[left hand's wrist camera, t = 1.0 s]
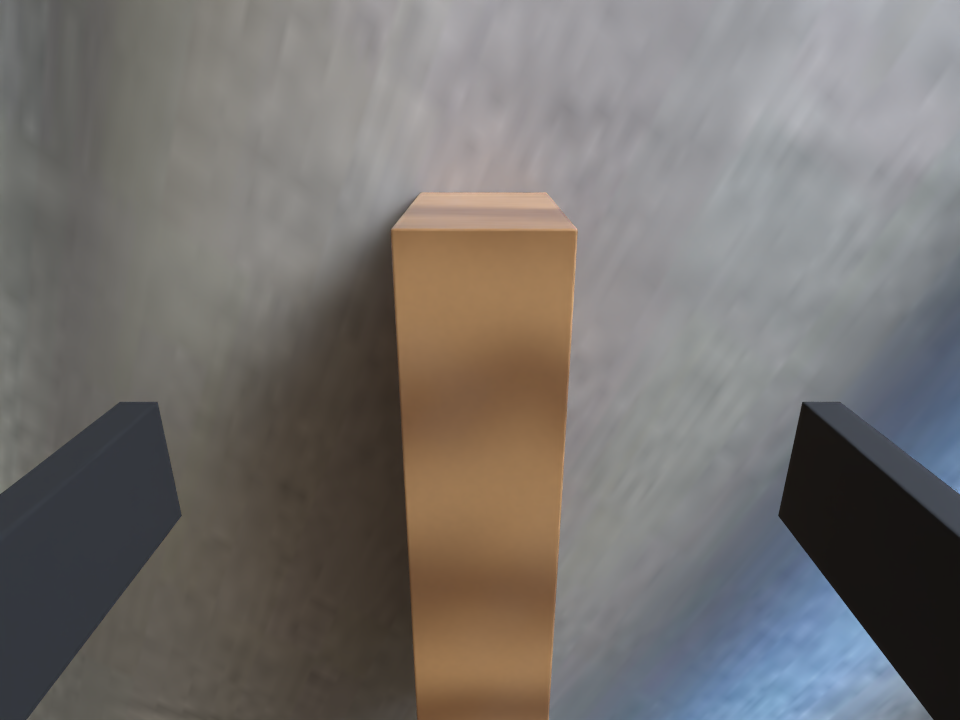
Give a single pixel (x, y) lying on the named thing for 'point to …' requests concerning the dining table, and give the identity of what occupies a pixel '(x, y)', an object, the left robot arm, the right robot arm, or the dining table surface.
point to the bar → (483, 443)
